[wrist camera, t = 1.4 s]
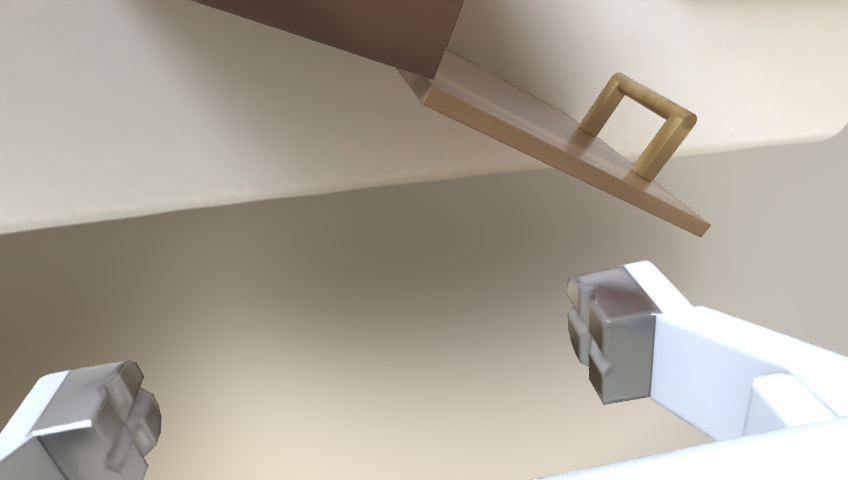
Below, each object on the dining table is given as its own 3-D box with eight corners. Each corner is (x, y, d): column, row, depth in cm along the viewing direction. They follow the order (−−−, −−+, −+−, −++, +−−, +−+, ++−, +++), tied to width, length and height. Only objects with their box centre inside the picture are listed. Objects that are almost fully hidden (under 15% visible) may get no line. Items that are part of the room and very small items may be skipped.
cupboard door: (395, -66, 39) (490, -23, 24) (606, 66, 49) (769, 156, 34) (357, 16, 41) (422, 104, 26) (565, 126, 51) (701, 237, 36)
